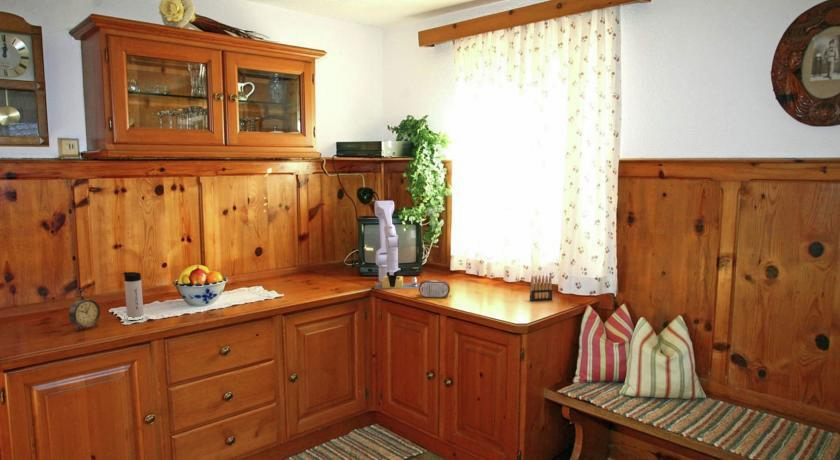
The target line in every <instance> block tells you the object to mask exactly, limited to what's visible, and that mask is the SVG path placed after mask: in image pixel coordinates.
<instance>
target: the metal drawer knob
mask: <svg viewBox="0 0 840 460" xmlns="http://www.w3.org/2000/svg"><path fill="white" fill-rule="evenodd" d="M411 283H412V284H411V286H412V287H417V286H418V284H417V283H418V279H417V277H416V276H415V277H412V279H411Z"/></svg>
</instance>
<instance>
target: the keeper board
mask: <svg viewBox="0 0 840 460" xmlns="http://www.w3.org/2000/svg"><path fill="white" fill-rule="evenodd" d="M420 283H421V282H420ZM420 283H419V282H417V284H418V286H417V287H412V286H411V284H412V282H409V283H408V282H403V286H402V288H382V282H379V283H378V282H377V283H376V284H375V287H374V289H375V290H394V289H395V290H409V289H410V290H412V289H413V290H419V285H420Z"/></svg>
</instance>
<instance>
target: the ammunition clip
mask: <svg viewBox="0 0 840 460" xmlns="http://www.w3.org/2000/svg"><path fill="white" fill-rule="evenodd" d="M552 287H553V282H552V275H551V274H549V276H548V275H544V274H543V275H542V277H541V275H539V276H537V275H535V277H534V275H531V279H530V289H529V302H543V301H545V302H546V301H553V288H552Z"/></svg>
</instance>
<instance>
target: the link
mask: <svg viewBox="0 0 840 460" xmlns="http://www.w3.org/2000/svg"><path fill="white" fill-rule="evenodd" d="M381 283H382V288H402V286H403V283H404V276H402V275H397V277H396V281H395V287H390V283H389V279H388V276H384V277H383V280H382V282H381Z"/></svg>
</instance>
